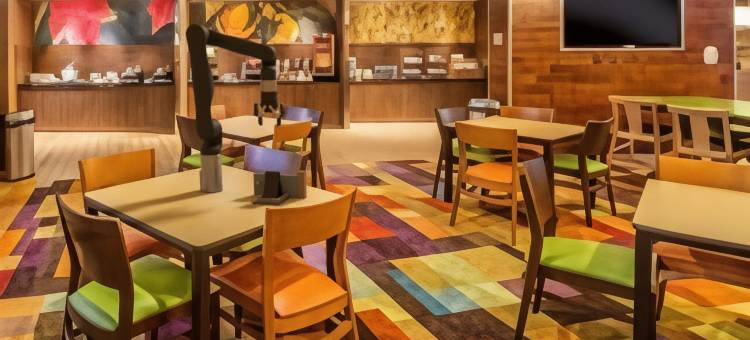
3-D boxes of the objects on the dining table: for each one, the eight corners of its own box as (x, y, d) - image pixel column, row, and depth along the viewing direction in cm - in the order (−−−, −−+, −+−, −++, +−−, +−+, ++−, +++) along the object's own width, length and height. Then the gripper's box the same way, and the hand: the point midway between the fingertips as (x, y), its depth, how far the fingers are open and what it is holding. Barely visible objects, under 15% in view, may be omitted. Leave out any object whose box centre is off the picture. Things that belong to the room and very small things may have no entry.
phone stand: (275, 201, 266) (274, 174, 264) (262, 200, 267) (261, 173, 265) (283, 196, 275) (282, 169, 272) (270, 195, 276) (270, 169, 274)
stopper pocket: (252, 203, 264) (252, 199, 264) (265, 196, 278) (265, 191, 277) (279, 205, 262) (279, 200, 261) (290, 197, 275) (290, 193, 275)
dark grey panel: (253, 195, 278) (252, 169, 275) (256, 194, 281) (255, 168, 279) (303, 199, 272) (303, 172, 270) (306, 197, 276) (306, 170, 274)
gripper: (250, 90, 278) (251, 126, 281) (280, 91, 275) (281, 127, 278) (257, 89, 285) (258, 124, 289) (286, 90, 282) (287, 125, 285)
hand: (269, 125), depth 283 cm, fingers open, 8 cm apart
